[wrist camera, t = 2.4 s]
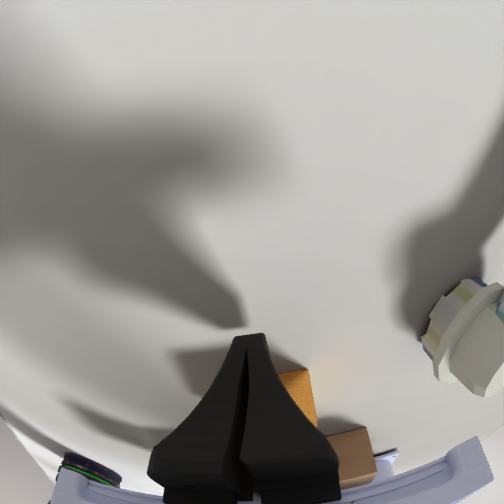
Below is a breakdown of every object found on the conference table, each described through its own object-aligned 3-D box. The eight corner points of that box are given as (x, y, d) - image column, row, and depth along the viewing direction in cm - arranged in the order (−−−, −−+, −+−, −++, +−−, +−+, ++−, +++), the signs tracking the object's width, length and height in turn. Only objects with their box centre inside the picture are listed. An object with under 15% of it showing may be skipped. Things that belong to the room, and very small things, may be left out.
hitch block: (359, 451, 22) (367, 488, 18) (205, 468, 24) (202, 504, 19) (366, 427, 19) (377, 471, 15) (184, 447, 21) (178, 489, 17)
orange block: (224, 380, 16) (219, 430, 13) (308, 369, 16) (317, 420, 12) (259, 453, 21) (260, 486, 18) (315, 446, 21) (319, 480, 18)
